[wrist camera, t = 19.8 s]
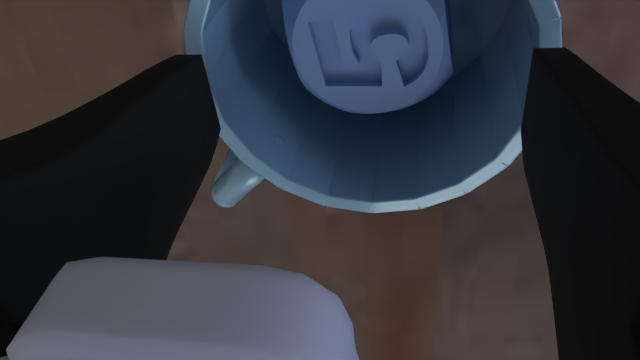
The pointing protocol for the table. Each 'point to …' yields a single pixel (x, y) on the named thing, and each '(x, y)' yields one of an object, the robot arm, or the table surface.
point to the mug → (367, 129)
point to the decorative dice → (370, 50)
